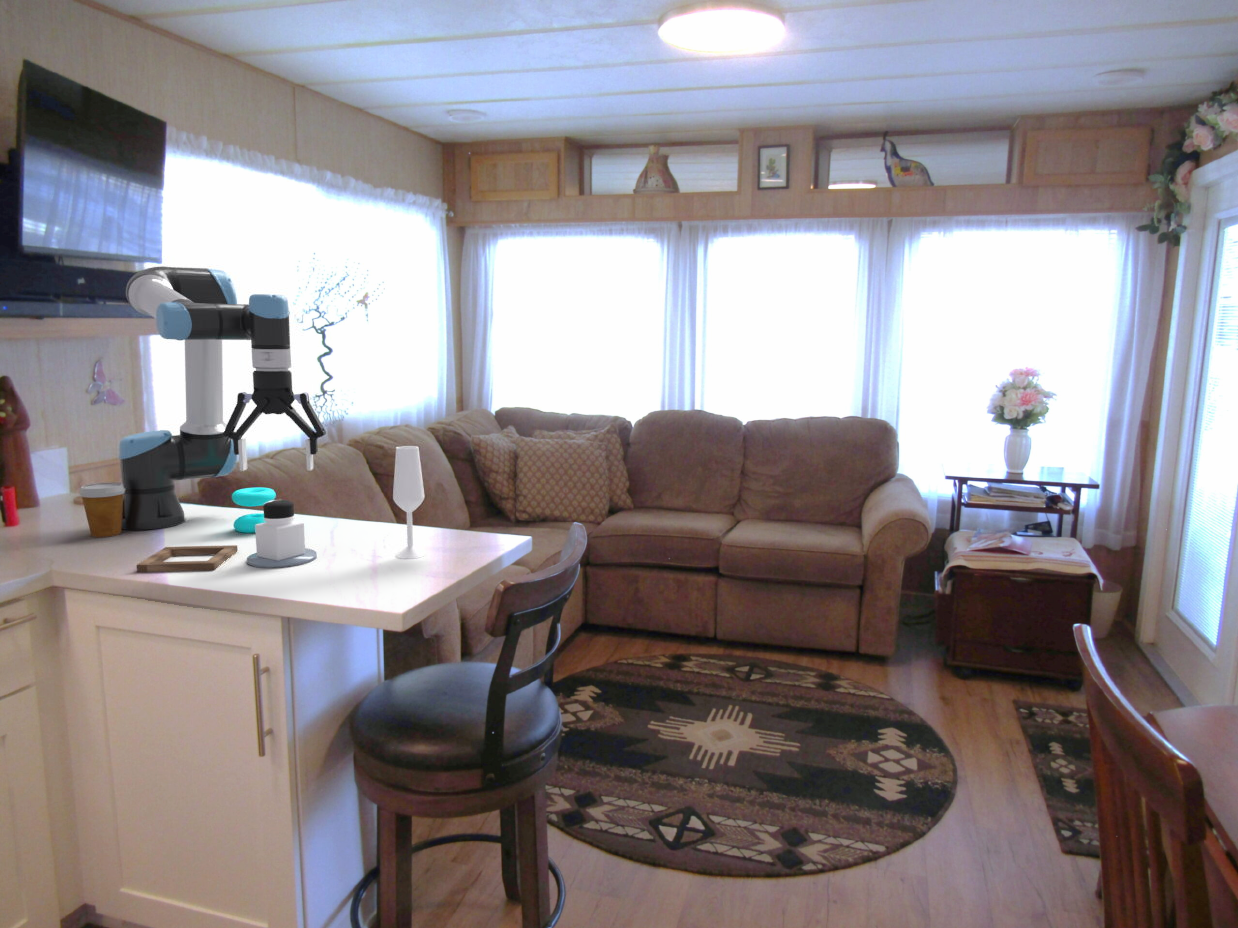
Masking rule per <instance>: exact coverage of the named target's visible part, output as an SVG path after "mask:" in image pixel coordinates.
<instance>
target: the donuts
mask: <svg viewBox="0 0 1238 928" xmlns="http://www.w3.org/2000/svg"><path fill="white" fill-rule="evenodd" d="M276 497H277V494H276V492H275V490H274V489H272V488H270V487H269V488H268V487H257V486H256V487H246V488H241V489H237V490H235V491H234V492H233V493H232V494H231V500H232V501H233V503H234V504H236V505H237V506H242V507H260V506H263V505H264V504H265V503H266V502H268V501H272V500H276ZM265 522H266V521H264V512H263V513H261V512H260V513H259V512H258V513H247V514H244V515H240V516H239V517H237V518H236V519H235V520H234V522H233V529H234V530H235V531H237V532H239V533H242V534H243V533H244V534H256V533H255V525H256V524H260V523H265Z"/></svg>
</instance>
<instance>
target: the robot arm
mask: <svg viewBox="0 0 1238 928" xmlns="http://www.w3.org/2000/svg"><path fill="white" fill-rule="evenodd" d="M125 296H126V299H127V301H128V303H129V305H130V306H131V307H132V308H133V309H134V310H136V311H137V312H138V313H140V314H141V315H144V316H148V317H152V318H154V319H155V321H156V322H155V323H156V328H157V331H158V334H159V336H160V337H161V338H162V339H165V340H176V341H184V367H185V368H184V372H185V373H184V375H185V376H184V377H185V380H184V381H185V415H186V417H185V418H186V421H184V422H183V424H181V425H180V426H179V434H176V435H175V434H174V435H172V432H171V431H170V430H167V429H163V430H162V429H161V430H151V431H145V432H139V433H134V434H131V435H127V436H124V437H123V438H121V440H120V441H119V444H118V447H119V448H118V452H119V453H118V459H119V462H120V463H119V465H120V475H121V483H122V484H123V487H124V488H125V491H124V494H123V512H122V529H121V530H129V531H131V530H132V531H133V530H136V531H137V530H138V531H139V530H141V531H143V530H153V529H162V528H168V527H174V526H177V525H180V524H182V523H184V522H186V521H185V520H186V519H185V511H184V509H183V507H182V505H181V503H180V500H179V498H178V496H177V495H178V494H176V489H175V486H176V485H175V481H185V480H187V481H188V480H195V479H197V480H198V479H206V478H207V479H208V478H210V479H212V478H217V477H223V476H227V475H230V474H231V473H232V472H233V470H234V469H235V466H236V464H237V460H238V463H239V464H238V465H239V471H240V472H244V471H246V470H247V469H248V457H247V456H248V454H247V439H246V438H243V436H244V435H245V433H247V431H248V430H249V429H250V428H251V426H252V425H254V423H255V421H257V419H258V418H259V417H260V416H261V415H262V414H265V415H271V414H274V415H282V414H283V415H284V414H286V416H287V417H289V418H290V419H291V420H292V421H293V422H294V424H296V426H297V427H298V428H299V429H300V430H301V431H302V432H303V433H304V435H306V436H307V438H306V439H305V458H306V471H309V472H310V471H312V470H313V469H314V455H316V454H317V453H318V449H319V448H318V439H319V438H321V437H324V436H325V435H326V434H327V431H326V429H325V427H324V425H323V424H322V422H321V421H320V419H319V417H318V415H317V413H316V411H315V409H314V408H313V406H312V404H311V403H310V397H309V393H308V392H306V391H305V392H302V393H296V394H294V391H293V376H292V375H293V374H292V371H291V370H289V369H290V368H292V360H291V359H292V358H291V357H292V356H291V336H290V335H291V333H290V332H291V331H290V311H289V302H288V298H287V297H286V296H285V295H282V294H267V293H266V294H264V293H263V294H261V293H260V294H259V293H255V294H251V295H250V296H249V298H248V300H249V301H248V304H245V303H244V304H241V303H240V304H239V303H238V298H237V293H236V289H235V287H234V283H233V280H232V278H231V277H230V275H229V274H227V272H225V271H224V270H220V269H212V268H205V267H204V268H203V267H202V268H201V267H176V266H173V267H171V266H163V265H162V266H152V267H149V268H146V269H142V270H141V271H139V272H137V273H135V274H134V275H133V276H132V277H131V278H130V279H129V280H128V282H127V284H126V288H125ZM223 341H251V342H250V346H251V361H252V362H251V363H252V368H253V369H255V370H253V372H252V381H253V384H252V386H253V392H252V393H248V392H246V391H242V392H239V393H237V398H236V404H235V407H234V409H233V411H232V414H231V415H230V417H229V420H228V422H227V423H226V422H224V399H223V397H224V394H223V393H224V391H223V385H224V384H223ZM251 400H252V402H253V403H254V404H255V406H256V407H254V409H253V410H252V412H250V414H249V415H248V417H247V418H246V419H245V420H244V421H243V422H242V424H240V426H239V427H238V429H236V427H237V425H238V423H239V422H240V418H241V417H242V415H243V413H244V411H245V408H246V405H247V404H249V403H250V401H251ZM295 400H296V401H297V403H298V404H300V405H301V407H302V409H303V411H304V413H305V415H306V416H307V418H308V420H309V422H310V424H311V425H312V426H313V427H311V425H310V424H308V423H307V421H306V420H305V419H303V417H302V416H301V415H300V414H299V413H298V411H297V410H296V409H295V408H294V407H293V406H292V404H293V403H294V401H295ZM313 428H314V429H313ZM235 429H236V431H235Z"/></svg>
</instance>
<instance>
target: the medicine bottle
mask: <svg viewBox="0 0 1238 928" xmlns="http://www.w3.org/2000/svg"><path fill="white" fill-rule="evenodd" d="M294 505H295V504H294V502H293V501H291V500H290V499H274V500H272V501H268V502H266V503H265V504H264V505H262V506H263V513H264V521H266V522H265V523H260V524H256V525H255V533H254V534H255V545H256V546H255V548H256V549H255V550H256V553H257V556H258V557H261V558H266V559H271V560H276V561H280V560H284V559H288V558H292V557H296V556H299V555H303V554H305V548H306V543H305V539H306V538H305V526H304V524H305V523H304V522H303V521H296V520H294V519H295V509H294V508H295V506H294Z"/></svg>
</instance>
